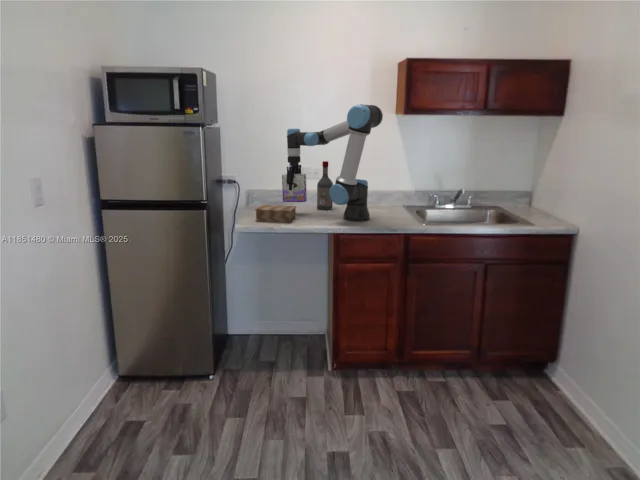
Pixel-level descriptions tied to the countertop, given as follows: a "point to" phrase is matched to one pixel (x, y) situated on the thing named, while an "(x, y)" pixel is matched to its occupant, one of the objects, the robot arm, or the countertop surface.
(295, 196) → the candy box
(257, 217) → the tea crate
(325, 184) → the liquor
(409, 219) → the countertop surface
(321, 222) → the countertop surface
